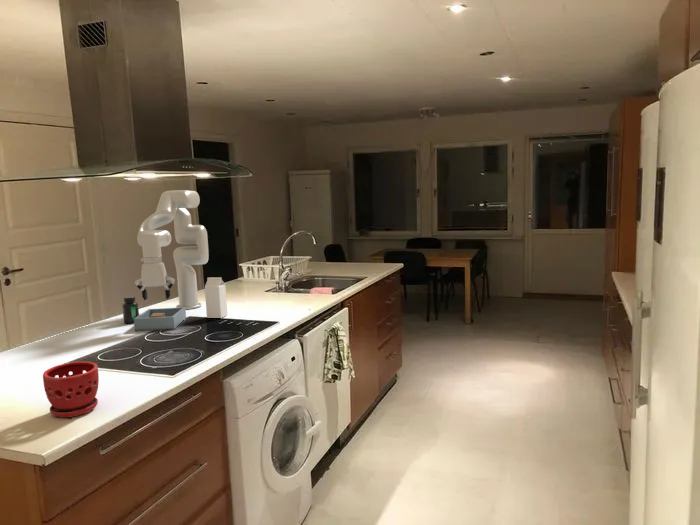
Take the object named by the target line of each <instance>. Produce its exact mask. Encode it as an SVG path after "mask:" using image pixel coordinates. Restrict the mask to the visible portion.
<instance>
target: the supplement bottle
mask: <svg viewBox="0 0 700 525" xmlns="http://www.w3.org/2000/svg"><path fill="white" fill-rule="evenodd" d="M123 302H124V303H123V304H122V306H121V308H122V317H123V324H125V325H134V324H133V323H134V318H136V317H137V316H139V315H140V312H139V310H140V309H139V303H138V302H137V301H136V296H134V295H133V296H130V295H129V296H125V297H123Z"/></svg>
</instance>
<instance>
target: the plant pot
mask: <svg viewBox="0 0 700 525" xmlns="http://www.w3.org/2000/svg"><path fill="white" fill-rule="evenodd" d="M84 371H85V372H84ZM71 372H72V374H70V373H71ZM56 376H58V377H56ZM42 381H43V387H44V392H45V395H46V398H47V399H48V402H49V404H50V405H51V406H50V407H49V412H50V413H51V415H53V416H55V417H58V418H72V417H78V416H81V415H84V414H88V413H89V412H91V411H92V410H94V409H95V408H96V407H97V406H98V403H99V401H98V398H97V397H96V396H97V393H98V389H99V383H100V382H99V381H100V379H99V368H98V364H97V363H94V362H92V361H72V362H66V363H63V364H62V363H61V364H58V365H55V366H53V367H50V368H48V369H47V370H45V371H44V372H43V373H42Z"/></svg>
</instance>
